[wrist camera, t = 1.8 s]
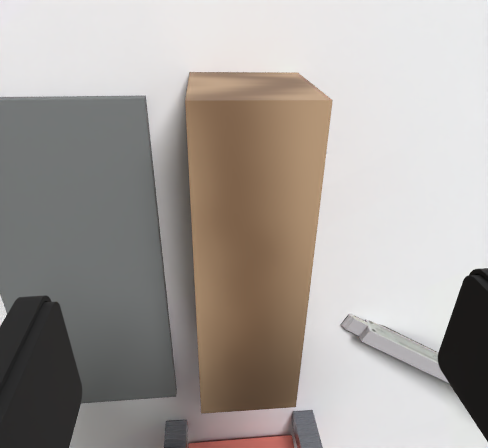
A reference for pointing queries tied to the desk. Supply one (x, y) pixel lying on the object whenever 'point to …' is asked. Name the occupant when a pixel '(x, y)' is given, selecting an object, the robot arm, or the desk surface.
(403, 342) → the caliper
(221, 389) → the brown wooden block
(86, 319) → the rest mat
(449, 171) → the desk surface
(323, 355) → the desk surface
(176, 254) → the desk surface
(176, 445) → the frame
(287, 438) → the button
